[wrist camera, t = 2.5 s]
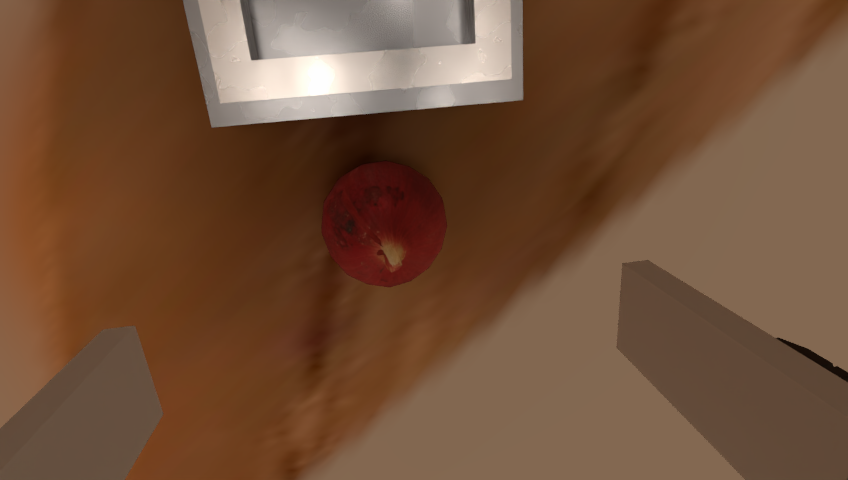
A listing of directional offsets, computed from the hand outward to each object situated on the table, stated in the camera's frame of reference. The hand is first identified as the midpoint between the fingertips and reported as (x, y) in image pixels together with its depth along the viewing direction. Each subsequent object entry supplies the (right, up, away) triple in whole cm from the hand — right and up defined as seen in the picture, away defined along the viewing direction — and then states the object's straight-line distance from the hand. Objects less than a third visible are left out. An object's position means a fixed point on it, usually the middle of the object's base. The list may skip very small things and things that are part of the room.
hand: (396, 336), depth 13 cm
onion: (-2, +5, +13) cm, 14 cm away
